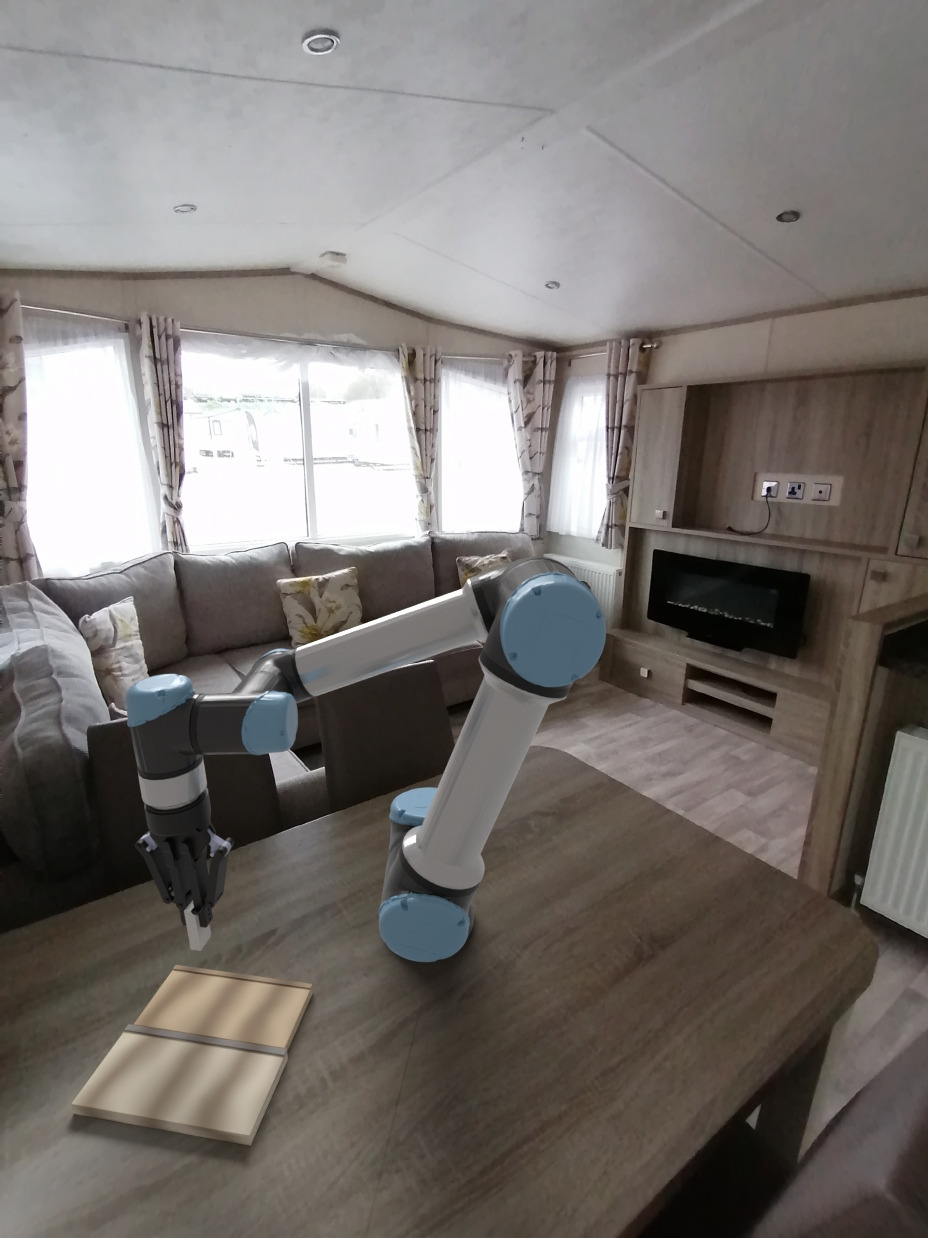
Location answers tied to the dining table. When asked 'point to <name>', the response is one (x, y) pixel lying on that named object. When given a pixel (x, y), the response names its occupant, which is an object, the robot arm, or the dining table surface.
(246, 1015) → the plank
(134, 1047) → the laid board
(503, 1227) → the dining table surface
